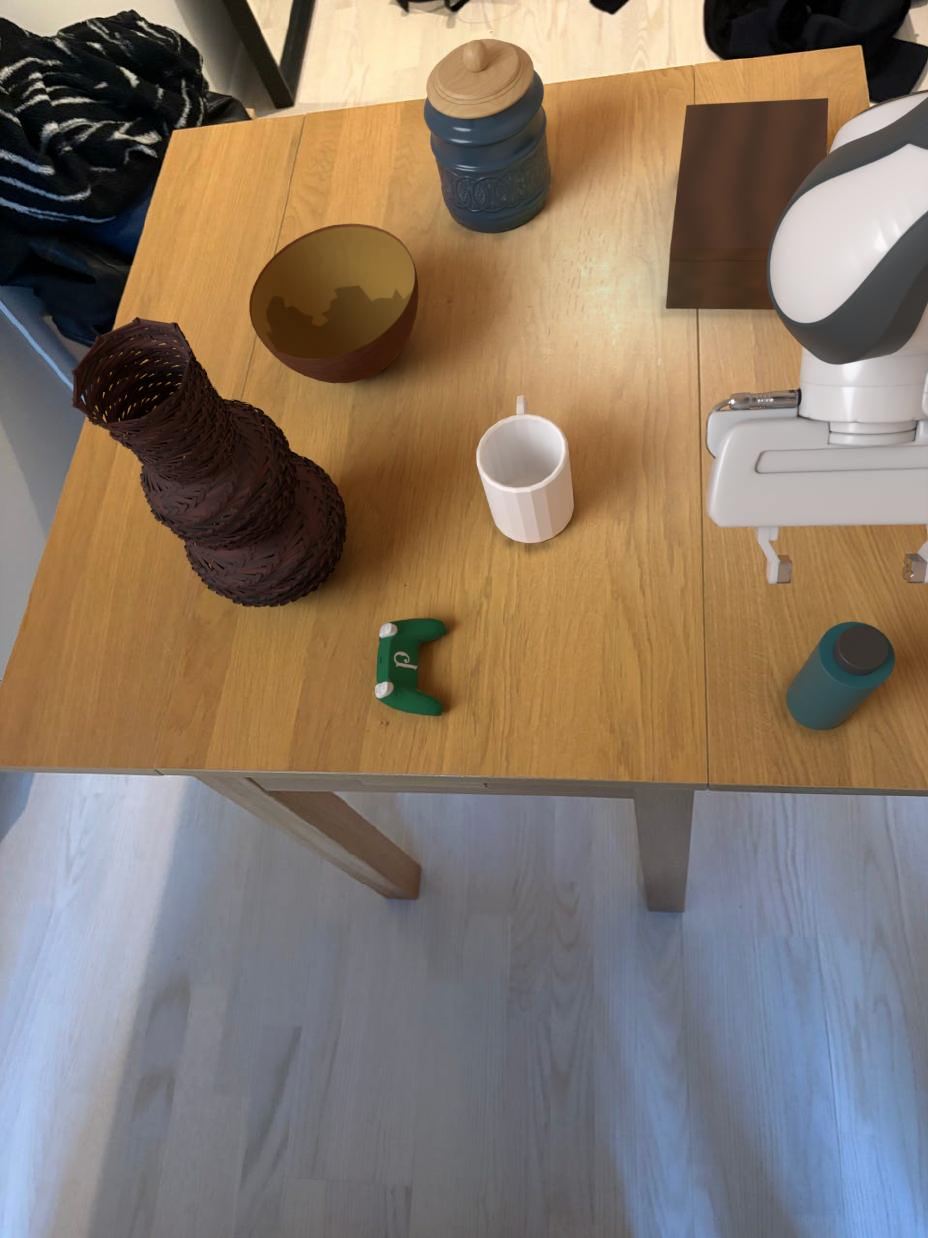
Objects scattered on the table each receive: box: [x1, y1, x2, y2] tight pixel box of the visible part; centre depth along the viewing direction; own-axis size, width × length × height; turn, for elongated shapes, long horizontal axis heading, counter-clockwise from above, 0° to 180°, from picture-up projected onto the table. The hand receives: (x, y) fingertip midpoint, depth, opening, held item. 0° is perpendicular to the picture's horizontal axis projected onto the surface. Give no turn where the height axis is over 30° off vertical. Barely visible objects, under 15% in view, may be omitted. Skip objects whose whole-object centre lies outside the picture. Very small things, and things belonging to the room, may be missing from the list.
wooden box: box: [665, 97, 829, 311], centre depth 82 cm, size 14×20×8 cm
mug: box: [475, 394, 575, 544], centre depth 74 cm, size 8×12×10 cm, turn 0°
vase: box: [70, 316, 348, 608], centre depth 67 cm, size 15×15×30 cm
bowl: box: [248, 223, 420, 384], centre depth 85 cm, size 18×18×10 cm
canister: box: [423, 38, 552, 234], centre depth 87 cm, size 13×13×18 cm
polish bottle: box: [785, 621, 896, 731], centre depth 60 cm, size 5×5×14 cm
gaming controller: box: [374, 617, 448, 717], centre depth 72 cm, size 9×4×6 cm
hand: (845, 581), depth 58 cm, fingers open, 8 cm apart
